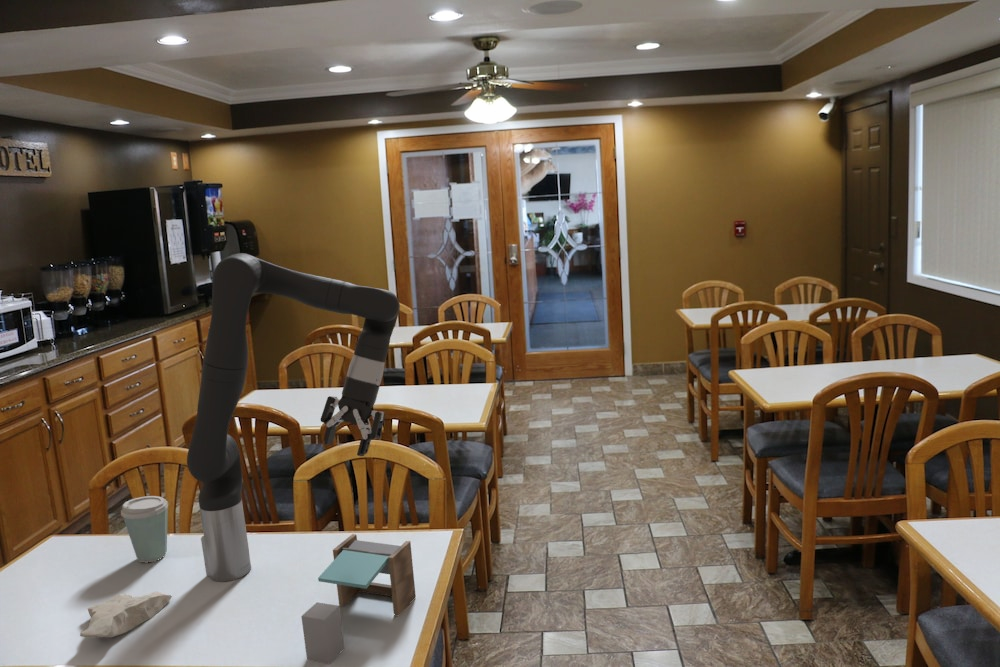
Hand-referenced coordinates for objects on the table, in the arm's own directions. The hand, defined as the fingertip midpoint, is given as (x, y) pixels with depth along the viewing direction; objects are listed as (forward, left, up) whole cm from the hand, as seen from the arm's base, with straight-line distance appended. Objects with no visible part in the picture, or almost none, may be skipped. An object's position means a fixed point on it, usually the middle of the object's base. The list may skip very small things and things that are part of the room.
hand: (344, 450), depth 173 cm
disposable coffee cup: (-56, -5, -30) cm, 64 cm away
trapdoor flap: (+10, -12, -24) cm, 29 cm away
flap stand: (+10, -9, -30) cm, 33 cm away
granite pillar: (+10, -28, -21) cm, 36 cm away
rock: (-40, -31, -30) cm, 59 cm away
